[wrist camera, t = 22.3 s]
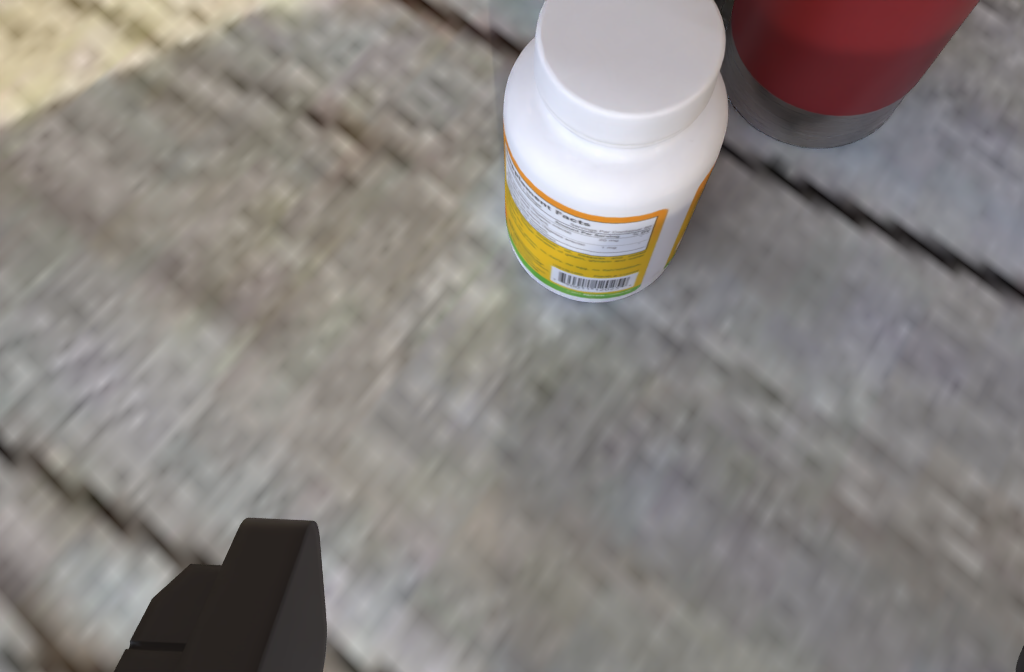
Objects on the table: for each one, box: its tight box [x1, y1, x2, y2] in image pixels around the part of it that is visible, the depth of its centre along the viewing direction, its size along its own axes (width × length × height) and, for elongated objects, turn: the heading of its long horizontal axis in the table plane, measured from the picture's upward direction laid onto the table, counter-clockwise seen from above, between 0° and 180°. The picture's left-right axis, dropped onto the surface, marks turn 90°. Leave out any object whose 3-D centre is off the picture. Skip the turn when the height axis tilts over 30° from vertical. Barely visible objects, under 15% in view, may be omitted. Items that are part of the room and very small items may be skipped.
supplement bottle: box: [503, 0, 728, 302], centre depth 23 cm, size 5×5×10 cm
